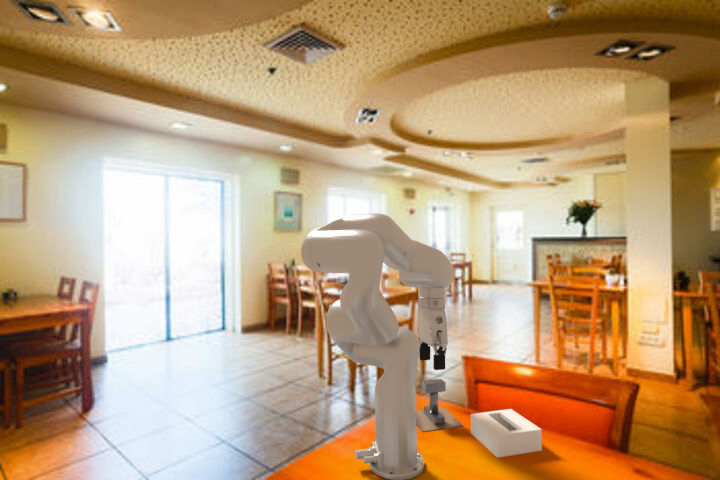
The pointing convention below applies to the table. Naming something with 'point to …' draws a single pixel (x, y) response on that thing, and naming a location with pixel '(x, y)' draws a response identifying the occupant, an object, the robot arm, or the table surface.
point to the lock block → (506, 432)
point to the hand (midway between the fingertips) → (431, 364)
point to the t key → (434, 400)
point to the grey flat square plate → (427, 425)
